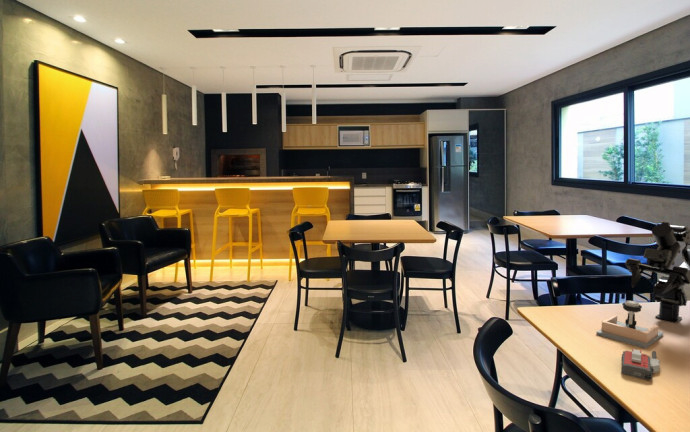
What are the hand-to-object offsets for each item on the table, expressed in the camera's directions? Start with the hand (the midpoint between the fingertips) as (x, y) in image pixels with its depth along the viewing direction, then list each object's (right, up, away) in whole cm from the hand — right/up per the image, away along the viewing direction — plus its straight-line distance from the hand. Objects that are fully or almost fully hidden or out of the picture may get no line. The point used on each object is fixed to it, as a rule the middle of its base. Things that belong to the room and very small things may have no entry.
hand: (646, 289), depth 145 cm
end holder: (-9, -14, -4) cm, 17 cm away
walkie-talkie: (-20, -17, -25) cm, 37 cm away
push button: (-8, -13, -4) cm, 16 cm away
